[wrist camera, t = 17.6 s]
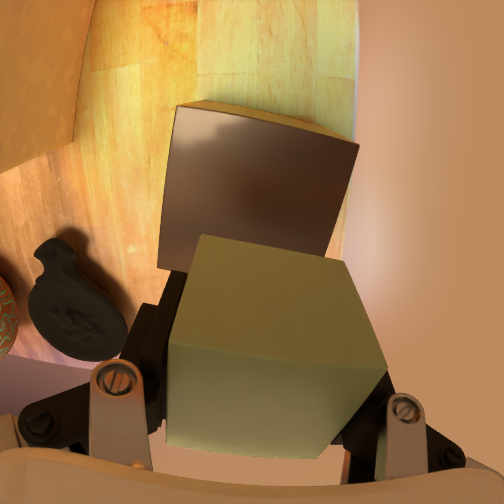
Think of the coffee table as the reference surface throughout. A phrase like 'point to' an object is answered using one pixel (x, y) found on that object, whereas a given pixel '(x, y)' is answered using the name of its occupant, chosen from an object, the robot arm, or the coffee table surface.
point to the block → (267, 352)
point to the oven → (39, 75)
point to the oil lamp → (74, 308)
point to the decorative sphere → (7, 318)
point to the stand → (250, 181)
